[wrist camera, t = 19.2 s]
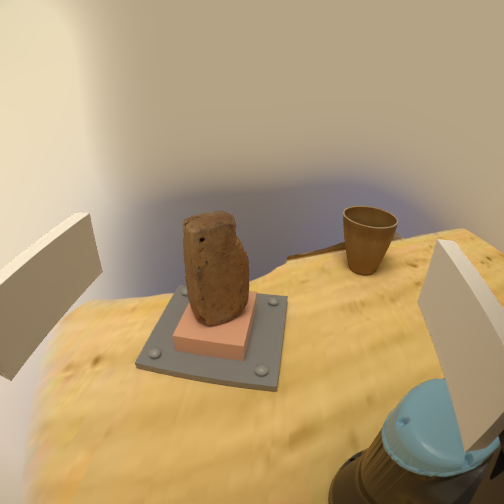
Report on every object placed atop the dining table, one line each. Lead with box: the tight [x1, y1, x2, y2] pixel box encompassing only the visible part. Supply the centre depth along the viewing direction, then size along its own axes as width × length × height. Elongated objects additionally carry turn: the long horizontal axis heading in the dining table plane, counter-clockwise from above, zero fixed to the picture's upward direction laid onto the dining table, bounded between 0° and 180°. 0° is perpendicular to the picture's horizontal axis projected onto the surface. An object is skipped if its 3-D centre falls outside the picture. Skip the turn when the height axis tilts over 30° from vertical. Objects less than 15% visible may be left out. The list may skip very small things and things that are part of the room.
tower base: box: [135, 285, 288, 392], centre depth 63 cm, size 26×26×6 cm
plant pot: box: [343, 206, 398, 275], centre depth 83 cm, size 15×15×16 cm
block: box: [183, 211, 249, 325], centre depth 56 cm, size 11×8×20 cm
